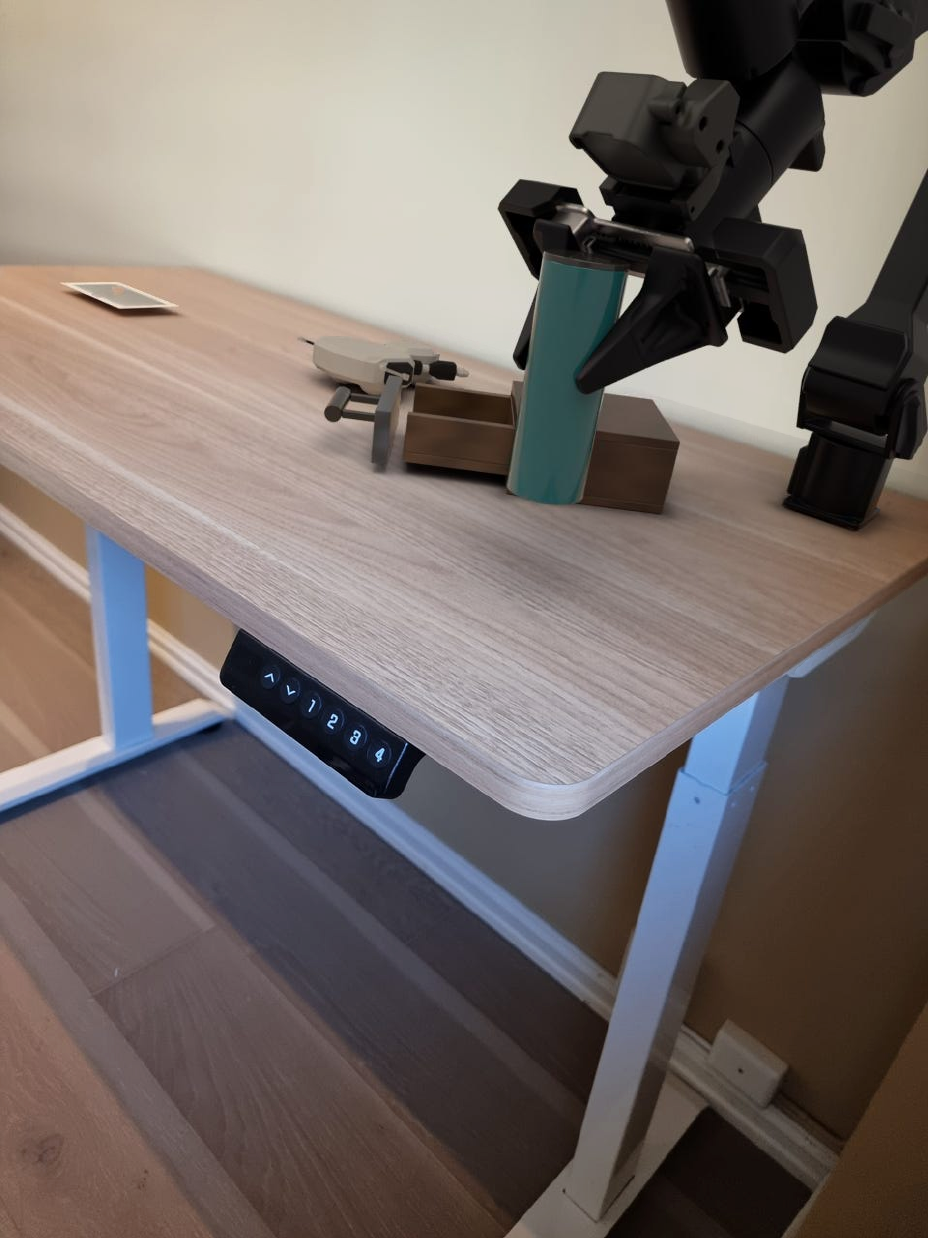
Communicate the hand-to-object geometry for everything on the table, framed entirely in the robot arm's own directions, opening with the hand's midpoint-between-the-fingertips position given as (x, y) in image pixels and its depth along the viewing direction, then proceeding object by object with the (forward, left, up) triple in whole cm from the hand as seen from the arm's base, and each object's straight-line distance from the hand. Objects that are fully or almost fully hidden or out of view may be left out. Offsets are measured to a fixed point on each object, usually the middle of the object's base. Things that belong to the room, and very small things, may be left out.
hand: (547, 375), depth 47 cm
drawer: (+21, -15, -13) cm, 28 cm away
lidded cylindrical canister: (0, -1, -7) cm, 7 cm away
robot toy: (+38, -29, -14) cm, 49 cm away
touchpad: (+80, -25, -14) cm, 85 cm away
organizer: (+10, -23, -13) cm, 29 cm away
